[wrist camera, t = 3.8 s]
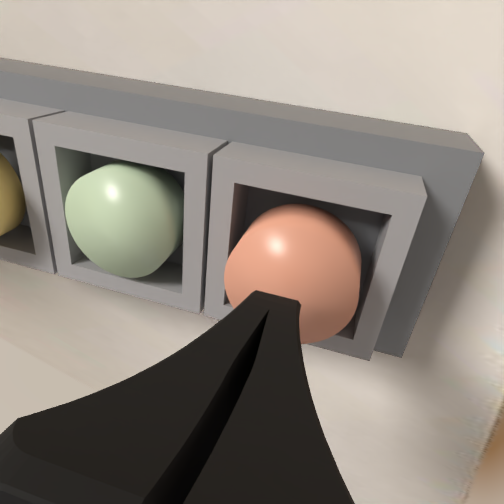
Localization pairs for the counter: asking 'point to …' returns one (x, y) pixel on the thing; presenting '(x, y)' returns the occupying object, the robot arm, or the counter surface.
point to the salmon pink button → (299, 266)
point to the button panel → (236, 186)
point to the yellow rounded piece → (10, 198)
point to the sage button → (126, 217)
